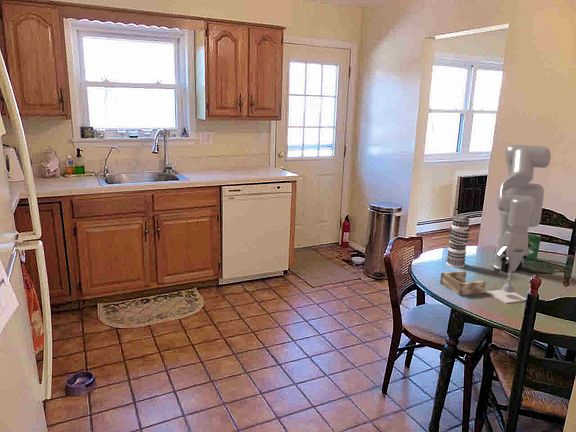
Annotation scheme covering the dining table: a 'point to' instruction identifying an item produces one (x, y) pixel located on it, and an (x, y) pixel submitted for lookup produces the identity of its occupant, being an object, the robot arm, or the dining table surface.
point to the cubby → (454, 283)
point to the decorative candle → (458, 241)
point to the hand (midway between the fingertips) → (510, 270)
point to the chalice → (513, 265)
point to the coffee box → (533, 246)
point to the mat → (506, 296)
